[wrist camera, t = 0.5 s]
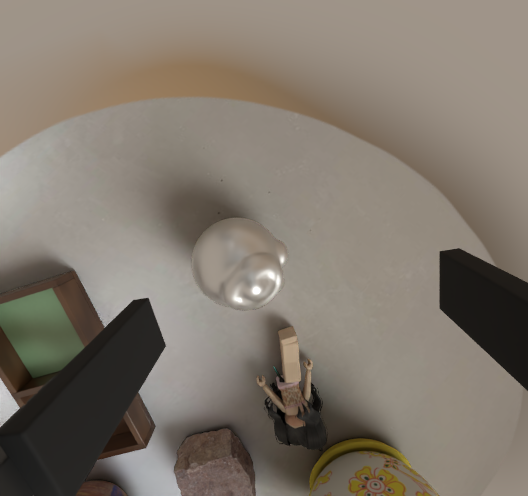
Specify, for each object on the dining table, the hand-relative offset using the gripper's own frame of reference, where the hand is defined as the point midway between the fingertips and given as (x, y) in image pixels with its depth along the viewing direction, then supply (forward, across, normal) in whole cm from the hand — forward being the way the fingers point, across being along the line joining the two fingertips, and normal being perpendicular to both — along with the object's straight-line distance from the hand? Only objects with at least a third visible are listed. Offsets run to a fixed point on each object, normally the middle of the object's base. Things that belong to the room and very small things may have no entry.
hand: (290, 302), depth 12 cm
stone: (+16, -15, -32) cm, 39 cm away
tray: (+16, -30, -14) cm, 37 cm away
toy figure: (+17, -3, -21) cm, 27 cm away
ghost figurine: (+18, -5, -3) cm, 19 cm away
